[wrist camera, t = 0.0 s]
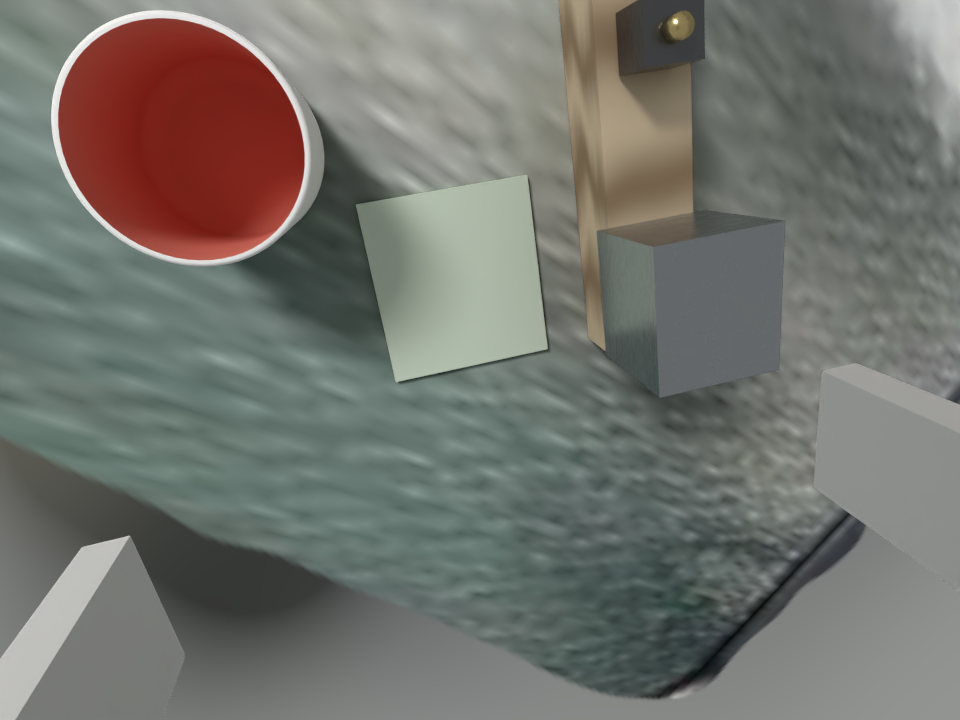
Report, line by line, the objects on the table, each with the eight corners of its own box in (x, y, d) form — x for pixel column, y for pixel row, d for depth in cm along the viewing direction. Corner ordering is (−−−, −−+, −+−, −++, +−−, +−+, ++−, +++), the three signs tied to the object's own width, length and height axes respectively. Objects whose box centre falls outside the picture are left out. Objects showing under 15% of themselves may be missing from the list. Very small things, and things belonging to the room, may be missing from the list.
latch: (615, 13, 29) (650, -8, 26) (672, 5, 30) (713, -16, 26) (619, 76, 30) (652, 65, 27) (673, 68, 31) (713, 55, 27)
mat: (355, 204, 35) (355, 204, 34) (525, 174, 36) (527, 174, 36) (395, 380, 39) (395, 382, 39) (546, 347, 40) (547, 349, 40)
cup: (361, 159, 34) (360, 157, 25) (246, 272, 35) (204, 312, 26) (226, 13, 30) (165, -54, 21) (101, 144, 31) (-9, 135, 22)
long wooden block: (557, -11, 33) (589, -39, 28) (644, -23, 34) (689, -52, 29) (588, 338, 41) (617, 360, 36) (658, 322, 42) (695, 342, 37)
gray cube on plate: (596, 230, 33) (652, 247, 27) (704, 209, 34) (785, 220, 28) (606, 355, 36) (659, 397, 29) (705, 333, 37) (779, 369, 30)
